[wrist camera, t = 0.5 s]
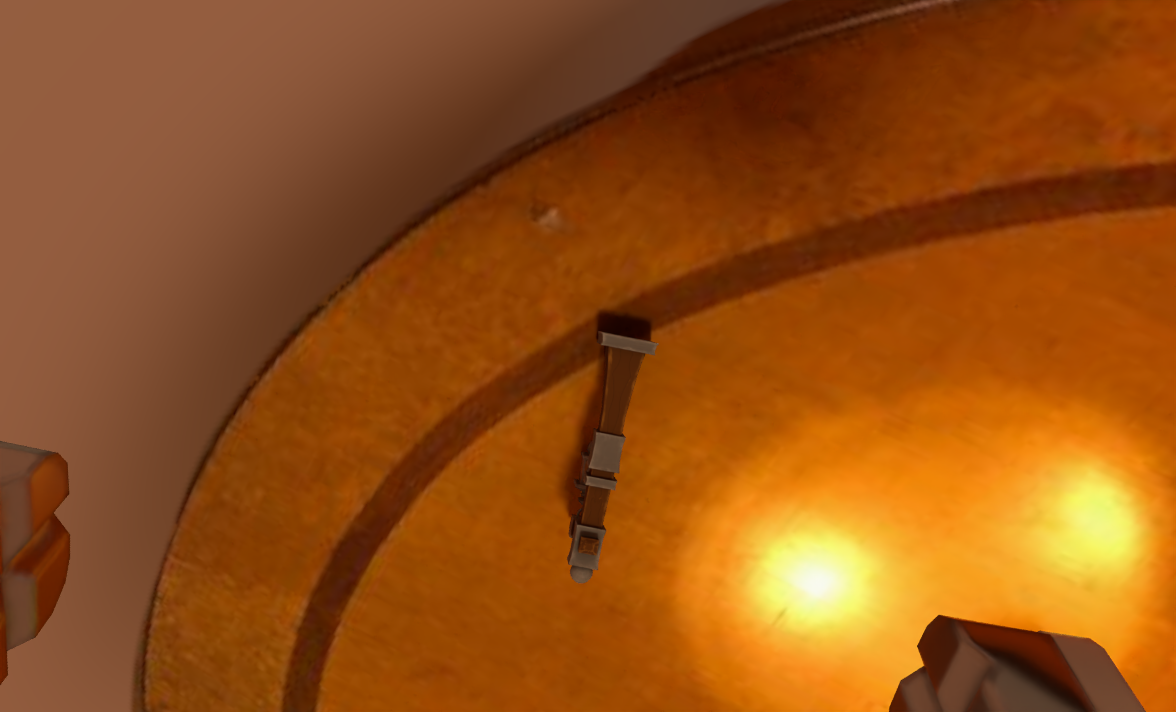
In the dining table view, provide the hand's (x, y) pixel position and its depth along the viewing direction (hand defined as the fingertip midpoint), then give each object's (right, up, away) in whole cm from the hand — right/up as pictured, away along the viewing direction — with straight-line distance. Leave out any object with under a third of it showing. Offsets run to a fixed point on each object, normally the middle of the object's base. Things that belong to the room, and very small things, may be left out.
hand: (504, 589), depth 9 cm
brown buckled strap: (+2, 0, +25) cm, 25 cm away
